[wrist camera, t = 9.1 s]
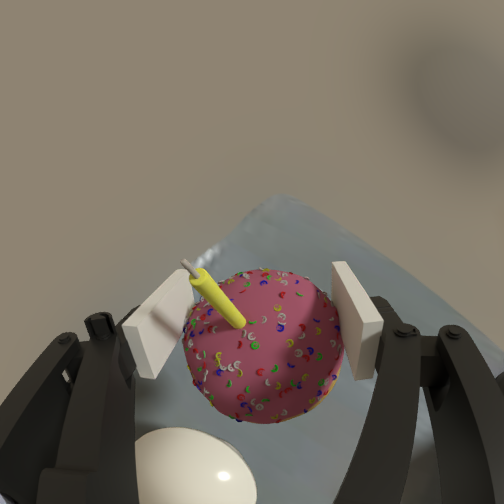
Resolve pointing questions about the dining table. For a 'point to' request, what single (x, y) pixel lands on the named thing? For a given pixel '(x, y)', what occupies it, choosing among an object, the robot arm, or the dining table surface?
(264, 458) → the dining table surface
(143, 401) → the dining table surface
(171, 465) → the cake stand
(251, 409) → the cupcake
